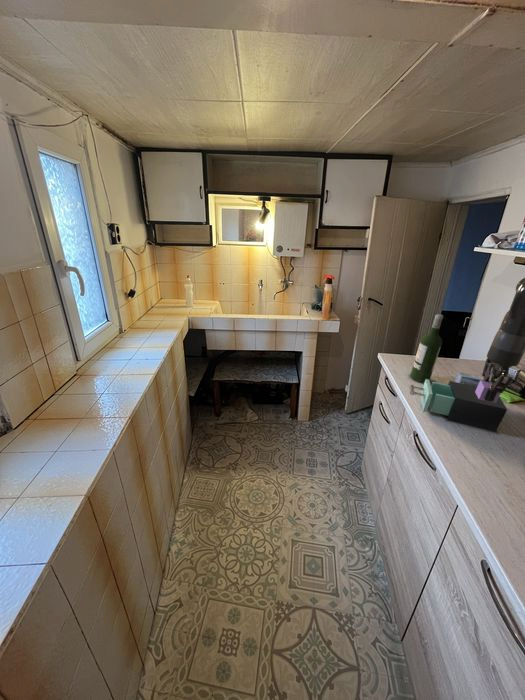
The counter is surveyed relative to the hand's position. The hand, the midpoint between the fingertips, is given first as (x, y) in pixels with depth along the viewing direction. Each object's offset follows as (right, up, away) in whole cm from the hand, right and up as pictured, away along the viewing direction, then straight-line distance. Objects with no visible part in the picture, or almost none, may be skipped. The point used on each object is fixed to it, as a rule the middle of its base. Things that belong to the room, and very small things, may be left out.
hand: (485, 395), depth 88 cm
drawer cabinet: (+5, -10, +15) cm, 19 cm away
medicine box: (+14, -4, +29) cm, 32 cm away
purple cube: (0, -1, 0) cm, 1 cm away
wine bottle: (+1, +1, +40) cm, 40 cm away
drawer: (-5, -7, +19) cm, 21 cm away
